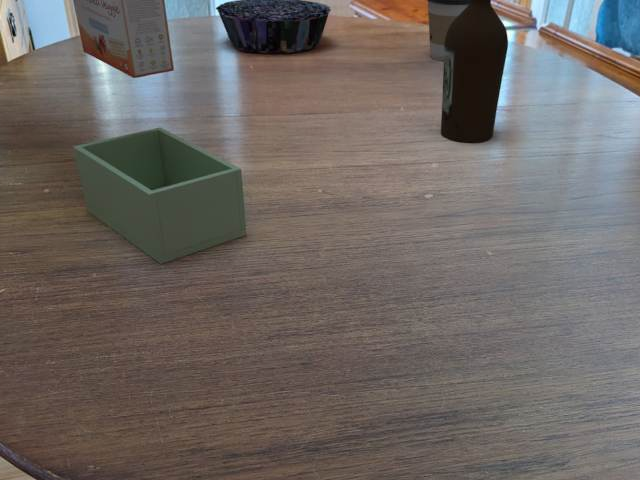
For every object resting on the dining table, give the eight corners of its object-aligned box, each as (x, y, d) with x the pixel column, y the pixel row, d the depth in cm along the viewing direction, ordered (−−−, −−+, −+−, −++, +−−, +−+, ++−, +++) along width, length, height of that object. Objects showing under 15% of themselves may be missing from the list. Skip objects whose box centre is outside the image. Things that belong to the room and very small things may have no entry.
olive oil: (492, 125, 135) (511, -27, 120) (499, 145, 126) (521, -16, 111) (435, 123, 135) (447, -29, 120) (439, 143, 126) (452, -18, 111)
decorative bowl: (222, 40, 187) (215, -3, 181) (327, 31, 191) (324, -11, 185) (222, 65, 167) (215, 19, 161) (340, 55, 171) (337, 9, 165)
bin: (160, 264, 88) (149, 194, 83) (87, 211, 99) (72, 146, 94) (246, 235, 95) (241, 168, 90) (169, 188, 106) (160, 127, 101)
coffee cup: (421, 50, 179) (426, -18, 170) (467, 52, 179) (474, -16, 170) (422, 62, 170) (426, -9, 161) (470, 64, 170) (477, -7, 161)
